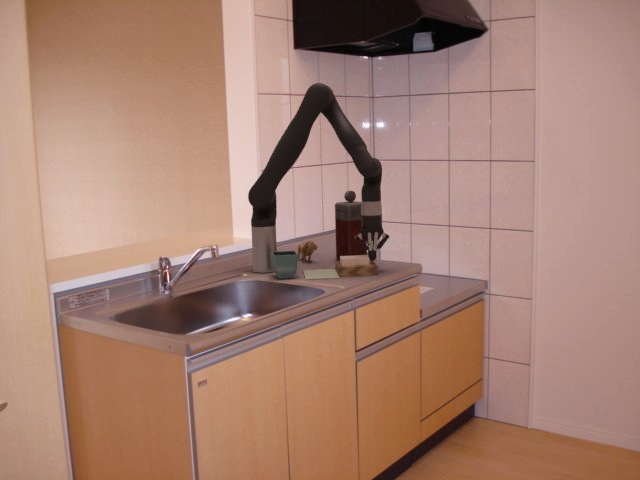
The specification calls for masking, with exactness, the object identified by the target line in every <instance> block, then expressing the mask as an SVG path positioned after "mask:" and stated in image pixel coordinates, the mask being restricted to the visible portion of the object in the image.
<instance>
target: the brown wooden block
mask: <svg viewBox="0 0 640 480" xmlns="http://www.w3.org/2000/svg"><path fill="white" fill-rule="evenodd" d="M334 264H335V265H334V266H335V267H334V269H335V270H336V272H337V274H338V276H339V277H340V278H348V277H349V278H350V277H371V276H379V272H378V267H379V266H378V265H377V264H376V262H375V261H371V260H370V259H369V265H351V266H342V265H341V263H340V261H336V260H335V261H334Z"/></svg>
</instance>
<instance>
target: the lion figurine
mask: <svg viewBox="0 0 640 480" xmlns="http://www.w3.org/2000/svg"><path fill="white" fill-rule="evenodd" d="M314 241H315V240H307V242H305V243H299V244H298V246H297V254H298V261H301V260H303V263H304V264H307V262H308V263H312V262H313V261H312V259H311V257H312V255H313V253H314V252H315V251H317V250H318V247H319V246H318V245H317V244H316V243H315V242H314ZM300 257H301V258H300ZM307 257H308V260H307V259H306V258H307Z"/></svg>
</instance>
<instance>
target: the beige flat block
mask: <svg viewBox="0 0 640 480" xmlns="http://www.w3.org/2000/svg"><path fill="white" fill-rule="evenodd" d="M369 260H370V259H369V257H368V254H367V255H355V256H340V263H341V265H342V266H351V265H369Z"/></svg>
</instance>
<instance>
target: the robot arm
mask: <svg viewBox="0 0 640 480" xmlns="http://www.w3.org/2000/svg"><path fill="white" fill-rule="evenodd" d="M321 114H322V115H323V116H324V117H325V119H326V120H327V122H329V123H328V124H330V126H331V127H332V129H333V130H334V132H335V134H336V136H337V138H338V140H339V142H340V143H341V145H342V146H343V148H344V150H346V152H347V153H348V155H349V156H350V158H351V160H352V163H353V164H354V166H355V167H356V169H357V171H358V173H359V174H360V176H362V178H363V184H362V187H361V192H360V193H361V197H360V198H361V202H362V203H361V230H360V233H359V234H358V235H356V236H355V238H356V239H357V241H358V242H359V243H360V244H361V245H362V247H363V248H364V249H366V250H367V256H368V257H369V260H371V261H374V262H375V261H376V260H377V251H378V250H379V249H380V250H381V249H382V248H383V246H384V245H385V244H386V243H387V241H388V240H389V239H390V235H389V234H388V233H386V232H385V230H384V228H383V207H382V205H383V204H382V192H381V191H382V190H381V186H382V185H381V184H382V176H383V166H382V163H381V161H380V160H379V159H378V158H376V157H372V155H371V153H370V152H369V150H368V146H367V144H366V142H365V141H364V139H363V138H362V137H361V135H360V133H359V132H358V131H357V130H356V128H355V126H353V124H352V123H351V121H350V120H349V119H348V117H347V115H346V114H345V113H344V111H343V110H342V108H341V106H340V104H339V101H338V99H337V98H336V95H335V94H334V91H333V89H332V88H331V87H330V86H328V85H326V84H324V83H321V82H316V83H314V84H313V83H312V85H310V86H309V87H308V88H307V90H306V92H305V94H304V96H303V98H302V100H301V102H300V105H299V107H298V110H297V111H296V113H295V114H294V117H293V118H292V120H291V121H290V123H289V124H288V126H287V127H286V129H285V131H284V132H283V134H282V136H281V137H280V139H279V140H278V142H277V144H276V145H275V147H274V149H273V151H272V153H271V155H270V157H269V158H268V161H267V163H266V166H265V168H264V169H263V170H262V172H261V174H260V175H259V177H258V178H257V179H256V181H255V182H254V183H253V185H252V186H251V187H250V189H249V190H248V196H247V199H248V202H249V204H250V206H251V207H252V213H251V220H250V226H251V227H250V228H251V250H252V252H251V253H252V272H253V273H259V274H260V273H261V274H262V273H264V274H265V273H273V272H274V273H275V270H274V267H273V262H272V255H271V252H278V246H277V243H278V242H277V217H278V216H277V215H278V214H277V213H278V212H277V193H276V191H277V189H278V186H279V185H280V183H281V181H282V180H283V178H284V177H285V176H286V175H287V173H289V171H290V170H291V169H292V167H293V166H294V164H295V163H296V162H297V161H298V159H299V157H300V156H301V154H302V153H303V151H304V149H305V147H306V145H307V143H308V140H309V137H310V134H311V130H312V128H313V125H314V123H315V122H316V120H317V119H318V117H319V115H321ZM362 236H363V237H364V238H365V240H366V241H367V246H366V245H365V244H364V243H363V241H362V240H361V239H362ZM380 238H382V239H381V240H380ZM379 240H380V241H379ZM378 241H379V242H378Z"/></svg>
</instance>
